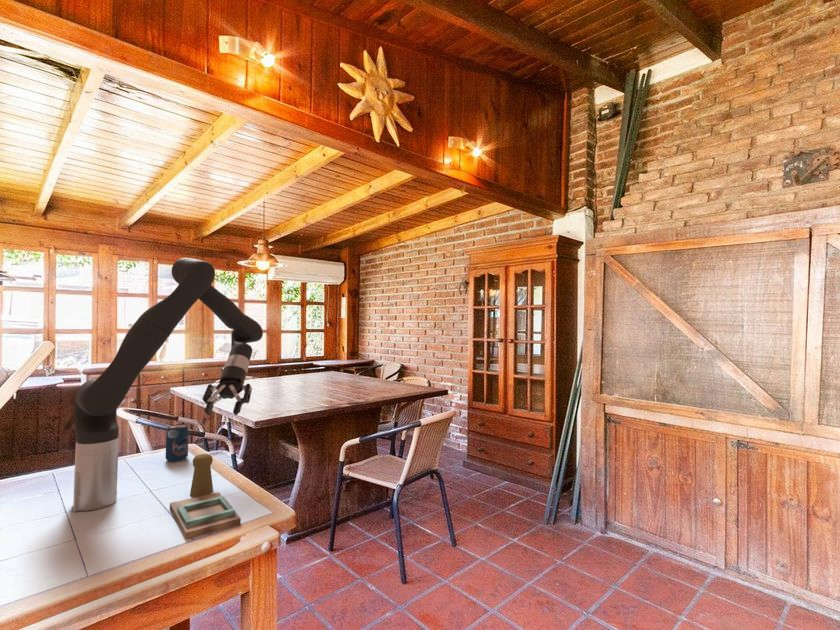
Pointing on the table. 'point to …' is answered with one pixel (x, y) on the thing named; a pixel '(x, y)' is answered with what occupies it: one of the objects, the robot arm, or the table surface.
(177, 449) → the soda can
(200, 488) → the cork
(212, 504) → the holder plate
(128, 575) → the table surface
